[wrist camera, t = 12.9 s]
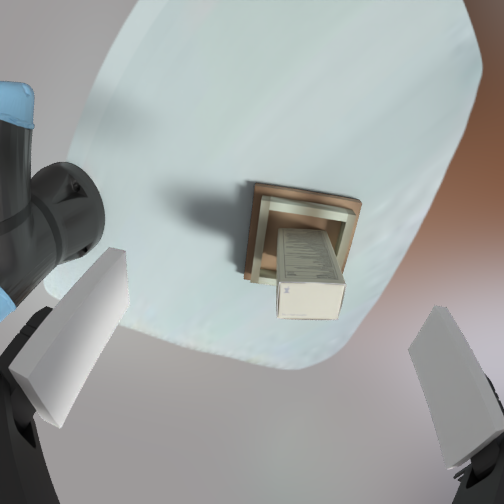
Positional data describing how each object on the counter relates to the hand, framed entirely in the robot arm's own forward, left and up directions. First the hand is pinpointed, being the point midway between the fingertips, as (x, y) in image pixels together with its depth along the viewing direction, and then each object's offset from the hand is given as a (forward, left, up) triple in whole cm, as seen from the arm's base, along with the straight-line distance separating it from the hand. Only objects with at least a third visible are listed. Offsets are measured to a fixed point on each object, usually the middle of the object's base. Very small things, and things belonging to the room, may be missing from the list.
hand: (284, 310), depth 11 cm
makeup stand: (+4, -9, -26) cm, 27 cm away
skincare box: (+4, -9, -25) cm, 27 cm away
